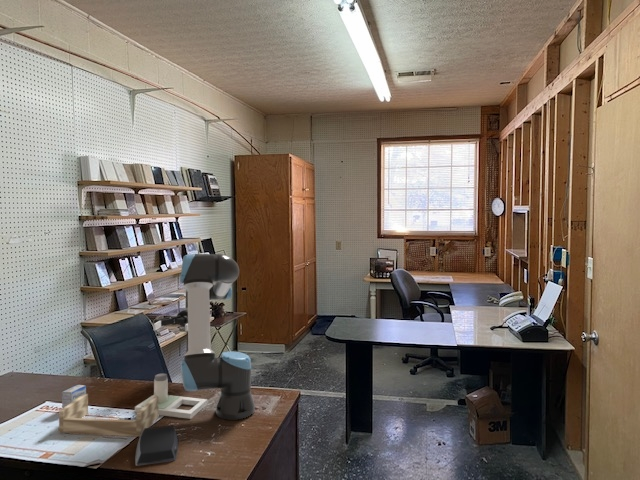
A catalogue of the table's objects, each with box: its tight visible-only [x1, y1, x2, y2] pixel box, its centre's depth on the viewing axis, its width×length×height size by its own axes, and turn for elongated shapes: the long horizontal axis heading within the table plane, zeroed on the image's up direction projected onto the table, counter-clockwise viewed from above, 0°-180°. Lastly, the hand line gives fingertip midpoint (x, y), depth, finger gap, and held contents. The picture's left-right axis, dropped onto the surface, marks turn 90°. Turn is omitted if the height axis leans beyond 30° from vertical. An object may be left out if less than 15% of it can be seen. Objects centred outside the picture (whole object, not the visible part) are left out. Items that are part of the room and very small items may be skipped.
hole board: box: [134, 394, 209, 420], centre depth 177 cm, size 24×14×2 cm, turn 78°
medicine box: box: [61, 384, 87, 409], centre depth 174 cm, size 8×4×9 cm, turn 168°
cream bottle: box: [153, 373, 169, 404], centre depth 178 cm, size 5×5×10 cm
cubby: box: [58, 393, 159, 437], centre depth 162 cm, size 16×29×8 cm, turn 88°
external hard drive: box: [134, 425, 179, 467], centre depth 146 cm, size 13×19×4 cm
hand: (170, 327), depth 187 cm, fingers open, 13 cm apart
